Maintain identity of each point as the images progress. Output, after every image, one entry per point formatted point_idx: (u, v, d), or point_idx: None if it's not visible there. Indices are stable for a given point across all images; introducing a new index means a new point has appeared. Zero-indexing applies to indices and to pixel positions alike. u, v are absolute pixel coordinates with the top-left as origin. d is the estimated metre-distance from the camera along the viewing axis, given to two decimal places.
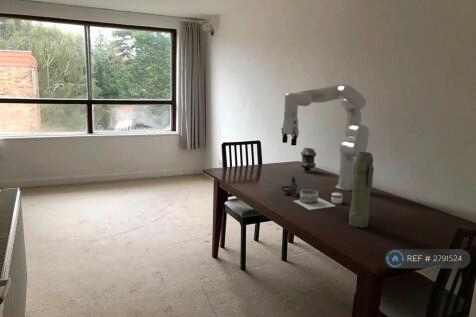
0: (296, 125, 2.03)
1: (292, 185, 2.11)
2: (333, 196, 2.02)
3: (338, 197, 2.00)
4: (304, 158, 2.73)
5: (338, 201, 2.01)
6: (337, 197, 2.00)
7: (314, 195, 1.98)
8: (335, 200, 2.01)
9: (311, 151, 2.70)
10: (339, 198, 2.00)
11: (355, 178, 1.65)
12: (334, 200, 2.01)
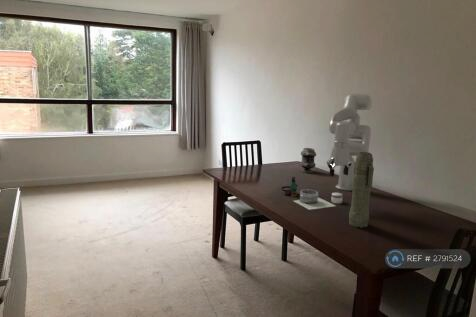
0: None
1: (292, 185, 2.11)
2: (333, 196, 2.02)
3: (338, 197, 2.00)
4: (304, 158, 2.73)
5: (338, 201, 2.01)
6: (337, 197, 2.00)
7: (314, 195, 1.98)
8: (335, 200, 2.01)
9: (311, 151, 2.70)
10: (339, 198, 2.00)
11: (355, 178, 1.65)
12: (334, 200, 2.01)
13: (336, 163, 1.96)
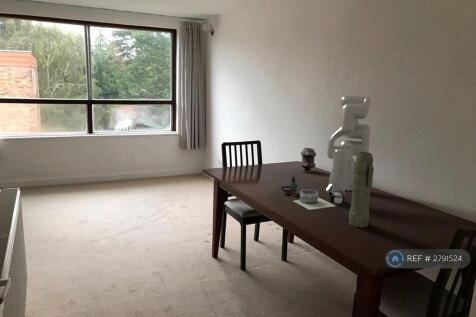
0: None
1: (292, 185, 2.11)
2: None
3: (338, 197, 2.00)
4: (304, 158, 2.73)
5: (338, 201, 2.01)
6: (337, 197, 2.00)
7: (314, 195, 1.98)
8: (335, 200, 2.01)
9: (311, 151, 2.70)
10: (339, 198, 2.00)
11: (355, 178, 1.65)
12: (334, 200, 2.01)
13: (334, 189, 1.99)
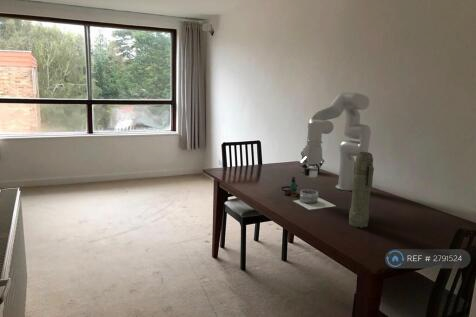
0: None
1: (292, 185, 2.11)
2: None
3: (313, 170, 1.96)
4: None
5: (313, 174, 1.97)
6: (312, 170, 1.96)
7: (314, 195, 1.98)
8: (310, 173, 1.97)
9: None
10: (314, 171, 1.97)
11: (355, 178, 1.65)
12: (309, 173, 1.98)
13: (309, 161, 1.95)
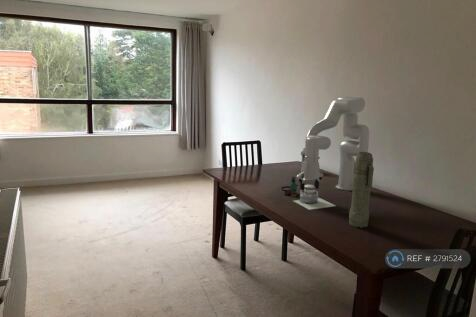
0: None
1: (292, 185, 2.11)
2: (305, 188, 2.00)
3: (310, 189, 1.99)
4: (304, 158, 2.73)
5: (310, 193, 1.99)
6: (309, 189, 1.99)
7: (314, 195, 1.98)
8: (307, 192, 2.00)
9: None
10: (311, 190, 1.99)
11: (355, 178, 1.65)
12: (306, 192, 2.00)
13: (306, 177, 1.97)
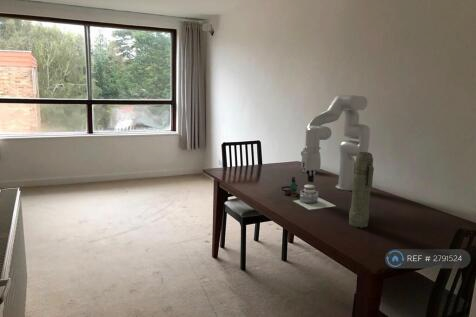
0: None
1: (292, 185, 2.11)
2: (305, 188, 2.00)
3: (310, 189, 1.99)
4: None
5: (310, 193, 1.99)
6: (309, 189, 1.99)
7: (314, 195, 1.98)
8: (307, 192, 2.00)
9: None
10: (311, 190, 1.99)
11: (355, 178, 1.65)
12: (306, 192, 2.00)
13: (307, 168, 1.96)
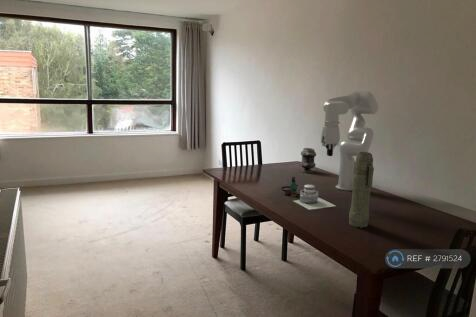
0: None
1: (292, 185, 2.11)
2: (305, 188, 2.00)
3: (310, 189, 1.99)
4: (304, 158, 2.73)
5: (310, 193, 1.99)
6: (309, 189, 1.99)
7: (314, 195, 1.98)
8: (307, 192, 2.00)
9: (311, 151, 2.70)
10: (311, 190, 1.99)
11: (355, 178, 1.65)
12: (306, 192, 2.00)
13: (327, 142, 2.02)
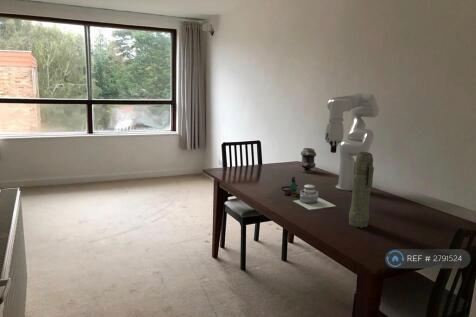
0: None
1: (292, 185, 2.11)
2: (305, 188, 2.00)
3: (310, 189, 1.99)
4: (304, 158, 2.73)
5: (310, 193, 1.99)
6: (309, 189, 1.99)
7: (314, 195, 1.98)
8: (307, 192, 2.00)
9: (311, 151, 2.70)
10: (311, 190, 1.99)
11: (355, 178, 1.65)
12: (306, 192, 2.00)
13: (331, 138, 2.04)
